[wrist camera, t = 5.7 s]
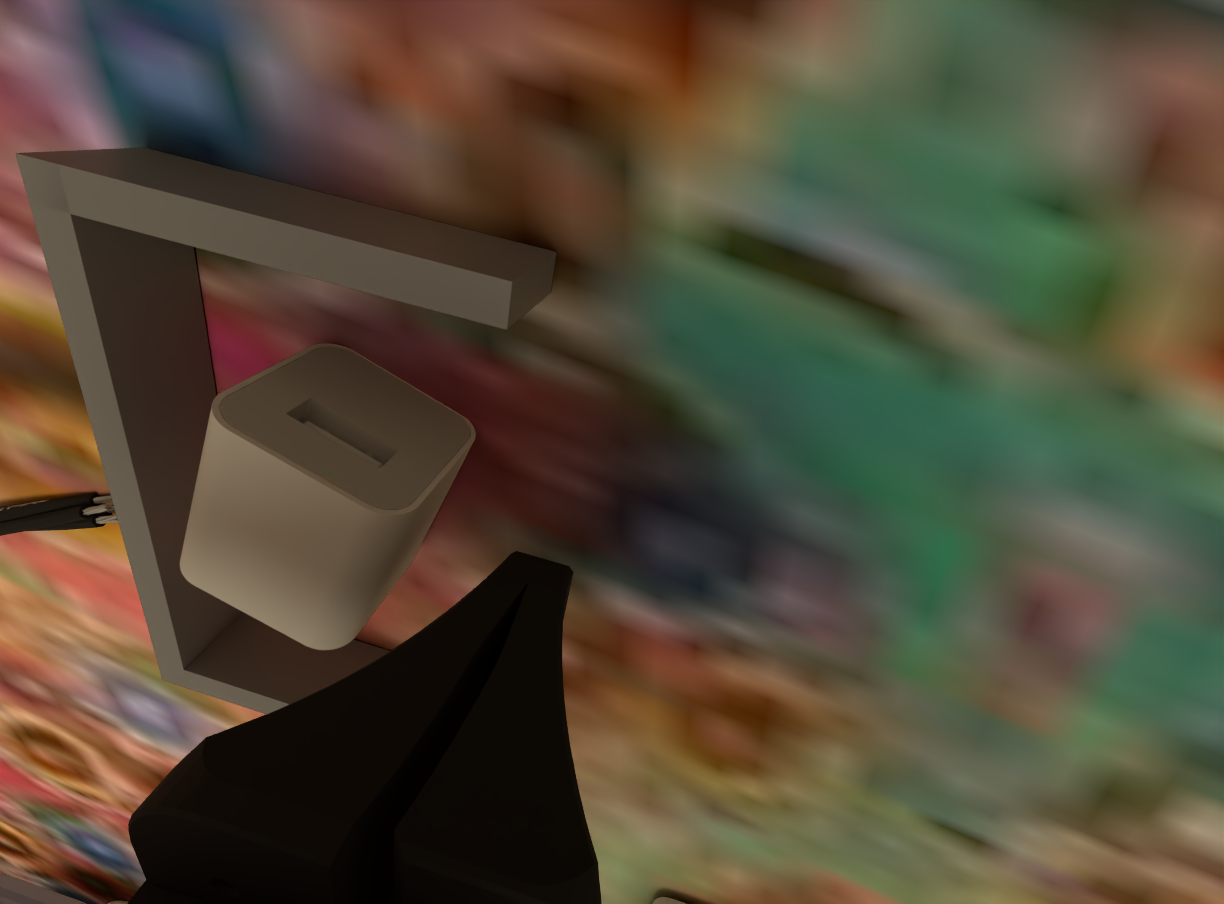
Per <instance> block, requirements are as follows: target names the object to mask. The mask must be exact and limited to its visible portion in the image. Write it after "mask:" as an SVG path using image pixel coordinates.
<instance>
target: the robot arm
mask: <svg viewBox="0 0 1224 904" xmlns="http://www.w3.org/2000/svg"><path fill="white" fill-rule="evenodd" d="M572 576H573V571H572V569H571V568H570V567H569V566H566V565H563V564H559V563H556V562H552V561H549V560H545V559H542V558H539V557H535V556H532V555H528V554H525V553H521V552H518V551H516V552H514V553H512V554H510V555H509V556H508V557H507V558H506V560H505V561H504V562H503V563H502V564H500V565H499V566H498V567H497V568H496V569H495V570H494V571H493V572H492V573H491V574H490V575H489V576H488V577H487V578H486V579H485V580H483V581H482V582H481V583H480V584H479V585H478V586H477V587H476V588H474V589H473V590H472V591H471V592H470V593H468V594H467V595H466V596H465V597H464V598H462V599H461V600H460V601H459V602H458V603H456V604H455V605H454V606H453V607H452V608H450V609H449V610H448V611H447V612H445V613H444V614H443V615H441V616H440V617H438V618H437V619H436V620H434V621H433V622H432V623H430V624H429V625H428V626H426V627H425V628H424V629H422V630H421V631H420V632H418V633H417V634H415V635H414V636H412V637H411V638H409V639H408V640H407V641H405V642H404V643H402V644H401V645H399V646H397V647H396V648H394V649H393V650H391V651H390V652H388V653H386V654H385V655H383V656H382V657H380V658H378V659H377V660H375V661H373V662H371V663H370V664H368V665H366V666H364V667H363V668H361V669H359V670H357V671H355V672H354V673H352V674H350V675H348V676H347V677H345V678H343V679H341V680H339V681H337V682H335V683H333V684H331V685H329V686H327V687H325V688H323V689H321V690H319V691H317V692H315V693H313V694H310V695H308V696H306V697H304V698H302V699H300V700H298V701H295V702H293V703H291V704H289V705H287V706H285V707H283V708H280V709H278V710H276V711H273V712H271V713H269V714H266V715H264V716H261V717H259V718H256V719H253V720H251V721H248V722H246V723H243V724H240V725H238V726H235V727H233V728H230V729H228V730H225V731H222V732H220V733H217V734H214V735H211V736H209V737H206V738H205V739H204V740H203V741H202V742H201V743H200V744H199V745H198V746H197V747H196V748H195V749H194V750H192V751H191V752H190V753H189V754H188V755H187V756H186V757H184V758H183V759H182V760H181V761H180V762H179V763H178V764H177V765H176V766H175V767H174V768H173V769H172V771H171V772H170V773H169V774H168V775H167V776H166V777H165V778H164V779H163V781H162V782H161V783H160V784H159V785H158V786H157V787H156V788H155V789H154V791H153V792H152V793H151V794H150V795H149V796H148V797H147V798H146V800H145V801H144V802H143V803H142V804H141V805H140V806H139V807H138V808H137V810H136V811H135V812H134V813H133V814H132V816H131V819H130V821H129V824H128V826H129V835H130V840H131V843H132V846H133V848H134V851H135V853H136V856H137V858H138V860H139V863H140V865H141V868H142V870H143V873H144V875H145V878H146V881H145V882H144V883H143V885H142V886H141V887H140V888H139V890H138V891H137V892H136V893H135V895H134V896H133V897H132V898H131V900H130V901H129V902H128V903H127V904H601V892H600V883H599V872H598V861H597V858H596V854H595V851H594V847H593V844H592V841H591V837H590V833H589V830H588V826H587V822H586V819H585V815H584V810H583V806H582V802H581V798H580V794H579V789H578V784H577V779H576V774H575V769H574V763H573V758H572V753H571V748H570V741H569V734H568V727H567V720H566V711H565V701H564V689H563V670H562V632H563V619H564V614H565V610H566V605H567V600H568V595H569V590H570V586H571V581H572ZM0 904H87V903H84V902H81V901H79V900H76V899H73V898H70V897H68V896H65V895H62V894H59V893H56V892H54V891H51V890H48V889H45V888H43V887H40V886H37V885H34V884H32V883H29V882H26V881H23V880H20V879H18V878H15V877H12V876H9V875H7V874H4V873H1V872H0ZM653 904H686V903H683V902H680V901H677V900H674V899H671V898H667V897H659V898H657V899H655V900H654V902H653Z"/></svg>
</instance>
